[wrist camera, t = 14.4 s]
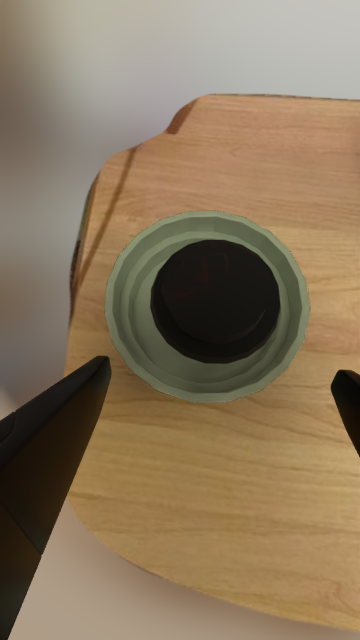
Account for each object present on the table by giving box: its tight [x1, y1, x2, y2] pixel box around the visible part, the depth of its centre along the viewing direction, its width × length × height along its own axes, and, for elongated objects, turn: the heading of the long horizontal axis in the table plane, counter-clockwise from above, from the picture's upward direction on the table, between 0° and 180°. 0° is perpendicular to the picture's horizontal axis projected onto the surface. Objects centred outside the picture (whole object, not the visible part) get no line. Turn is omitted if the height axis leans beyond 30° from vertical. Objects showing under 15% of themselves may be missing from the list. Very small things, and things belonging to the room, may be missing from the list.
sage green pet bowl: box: [105, 211, 310, 403], centre depth 19 cm, size 15×15×4 cm
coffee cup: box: [150, 240, 281, 364], centre depth 16 cm, size 7×7×10 cm
